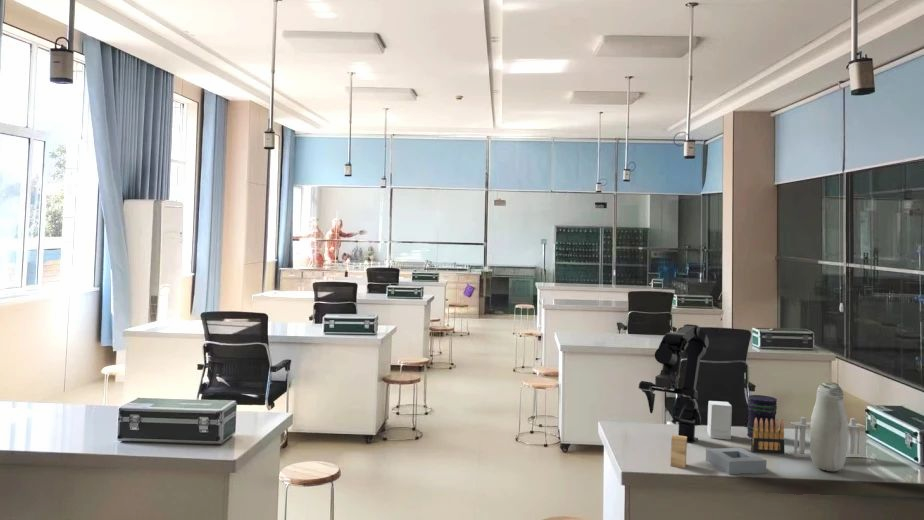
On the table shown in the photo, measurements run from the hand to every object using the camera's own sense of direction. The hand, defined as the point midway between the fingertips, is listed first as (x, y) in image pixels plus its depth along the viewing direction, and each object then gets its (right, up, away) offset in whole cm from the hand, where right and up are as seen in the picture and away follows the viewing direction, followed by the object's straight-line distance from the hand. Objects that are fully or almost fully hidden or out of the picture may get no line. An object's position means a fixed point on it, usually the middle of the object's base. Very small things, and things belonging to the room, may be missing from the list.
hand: (664, 415), depth 222 cm
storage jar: (+45, -15, +28) cm, 55 cm away
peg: (+2, -14, -8) cm, 16 cm away
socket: (+20, -15, -8) cm, 26 cm away
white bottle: (+50, -16, -8) cm, 53 cm away
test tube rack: (+58, -16, +7) cm, 61 cm away
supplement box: (+29, -14, +27) cm, 42 cm away
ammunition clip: (+39, -15, +9) cm, 42 cm away
